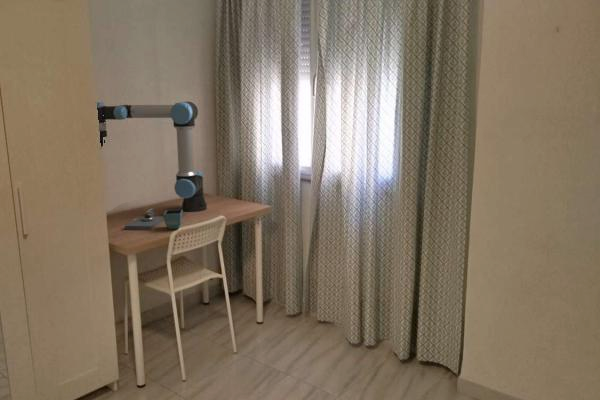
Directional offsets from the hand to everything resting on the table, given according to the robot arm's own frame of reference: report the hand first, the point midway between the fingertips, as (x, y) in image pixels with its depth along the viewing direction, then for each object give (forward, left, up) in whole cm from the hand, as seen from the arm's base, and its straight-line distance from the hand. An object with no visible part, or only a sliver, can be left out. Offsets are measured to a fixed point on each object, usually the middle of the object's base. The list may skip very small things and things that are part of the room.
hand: (103, 167), depth 292 cm
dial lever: (-32, +18, -26) cm, 44 cm away
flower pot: (-49, +29, -28) cm, 63 cm away
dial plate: (-31, +23, -28) cm, 47 cm away
